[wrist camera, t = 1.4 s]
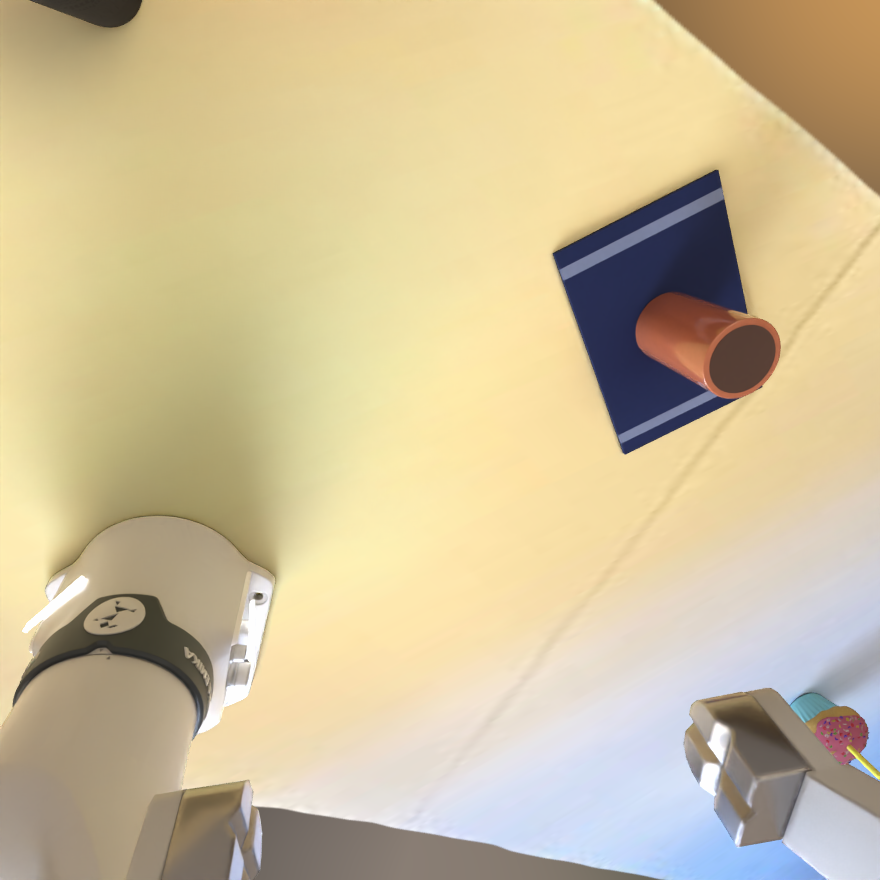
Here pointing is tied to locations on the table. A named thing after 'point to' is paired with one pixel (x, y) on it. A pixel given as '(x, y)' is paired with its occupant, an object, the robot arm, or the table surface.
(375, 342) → the table surface
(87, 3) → the drinking cup
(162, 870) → the robot arm
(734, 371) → the tumbler
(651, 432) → the cloth
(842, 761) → the cupcake
